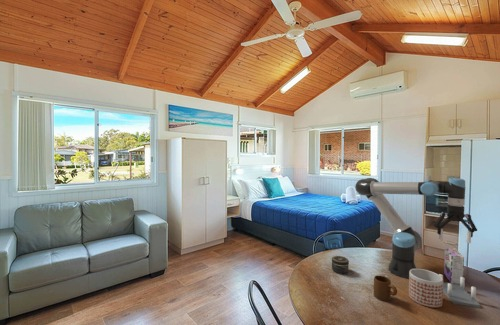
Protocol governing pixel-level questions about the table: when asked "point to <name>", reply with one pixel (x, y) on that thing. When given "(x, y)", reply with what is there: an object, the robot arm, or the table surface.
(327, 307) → the table surface
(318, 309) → the table surface
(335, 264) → the jar
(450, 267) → the candy box
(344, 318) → the table surface
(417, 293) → the planter
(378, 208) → the robot arm
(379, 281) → the mug
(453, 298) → the tray
